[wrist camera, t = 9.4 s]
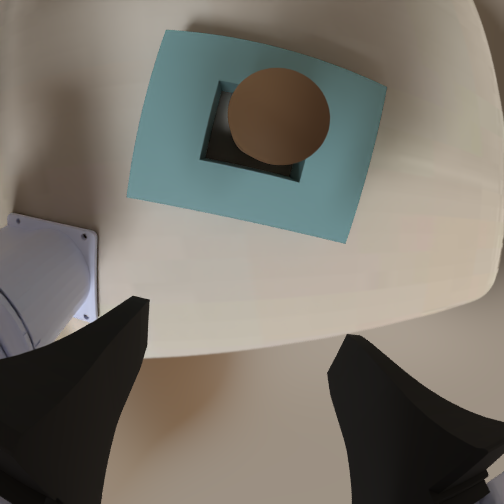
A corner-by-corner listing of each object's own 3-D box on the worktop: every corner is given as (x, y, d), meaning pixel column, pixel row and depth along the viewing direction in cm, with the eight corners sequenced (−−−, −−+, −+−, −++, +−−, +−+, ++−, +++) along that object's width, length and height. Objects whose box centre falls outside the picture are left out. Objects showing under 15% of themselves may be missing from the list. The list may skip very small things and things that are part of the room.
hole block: (142, 189, 18) (126, 197, 15) (176, 45, 14) (166, 29, 12) (330, 229, 19) (345, 243, 17) (366, 93, 16) (387, 87, 13)
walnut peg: (227, 150, 17) (216, 152, 8) (238, 105, 16) (241, 57, 7) (273, 160, 18) (316, 176, 8) (285, 116, 17) (339, 85, 7)
